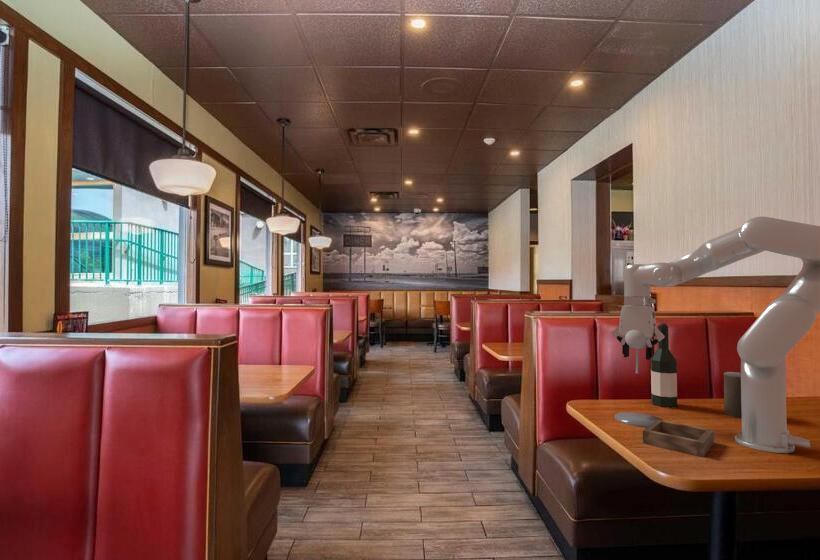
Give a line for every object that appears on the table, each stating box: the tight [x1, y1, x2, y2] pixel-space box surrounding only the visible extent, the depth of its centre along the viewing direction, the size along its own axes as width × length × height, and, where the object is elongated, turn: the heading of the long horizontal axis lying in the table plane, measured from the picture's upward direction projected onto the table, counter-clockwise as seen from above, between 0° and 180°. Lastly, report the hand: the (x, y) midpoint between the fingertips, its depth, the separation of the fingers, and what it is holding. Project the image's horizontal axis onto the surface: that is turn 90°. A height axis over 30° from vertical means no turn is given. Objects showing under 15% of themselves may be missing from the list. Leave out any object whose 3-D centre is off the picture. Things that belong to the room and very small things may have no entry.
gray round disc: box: [614, 411, 663, 428], centre depth 138 cm, size 14×14×1 cm
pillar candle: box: [723, 371, 742, 419], centre depth 144 cm, size 10×10×15 cm
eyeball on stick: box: [625, 330, 647, 374], centre depth 138 cm, size 7×7×15 cm
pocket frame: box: [642, 419, 715, 458], centre depth 118 cm, size 14×14×4 cm
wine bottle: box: [650, 322, 678, 409], centre depth 156 cm, size 8×8×30 cm
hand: (637, 357), depth 138 cm, fingers closed on eyeball on stick, 5 cm apart
